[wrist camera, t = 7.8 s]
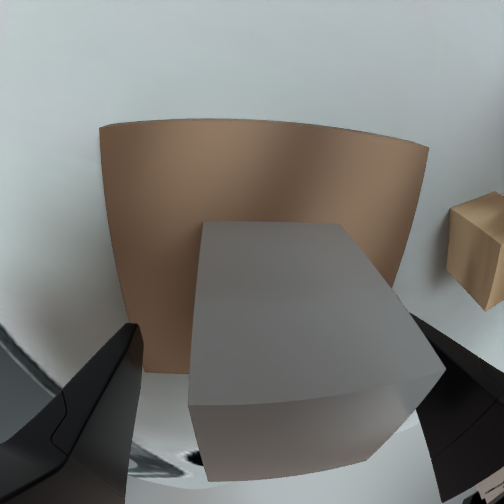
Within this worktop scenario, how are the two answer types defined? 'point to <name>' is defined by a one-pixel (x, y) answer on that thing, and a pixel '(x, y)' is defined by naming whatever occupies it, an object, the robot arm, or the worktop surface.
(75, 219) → the worktop surface
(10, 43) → the worktop surface
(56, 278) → the worktop surface
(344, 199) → the walnut board
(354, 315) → the slate block
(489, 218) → the oak cube
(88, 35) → the worktop surface
